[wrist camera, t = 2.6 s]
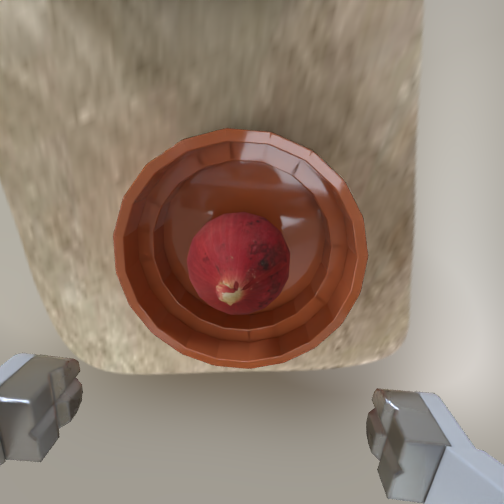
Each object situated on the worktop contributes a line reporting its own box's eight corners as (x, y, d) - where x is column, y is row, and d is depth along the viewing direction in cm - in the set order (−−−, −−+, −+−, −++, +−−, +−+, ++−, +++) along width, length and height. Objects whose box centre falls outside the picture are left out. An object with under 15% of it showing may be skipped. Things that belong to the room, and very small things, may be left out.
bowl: (147, 320, 24) (121, 358, 19) (139, 124, 19) (103, 117, 15) (328, 336, 24) (342, 377, 19) (364, 143, 19) (393, 141, 15)
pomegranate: (264, 186, 20) (264, 211, 12) (298, 262, 21) (317, 325, 14) (186, 223, 21) (142, 267, 13) (224, 293, 22) (205, 367, 15)
